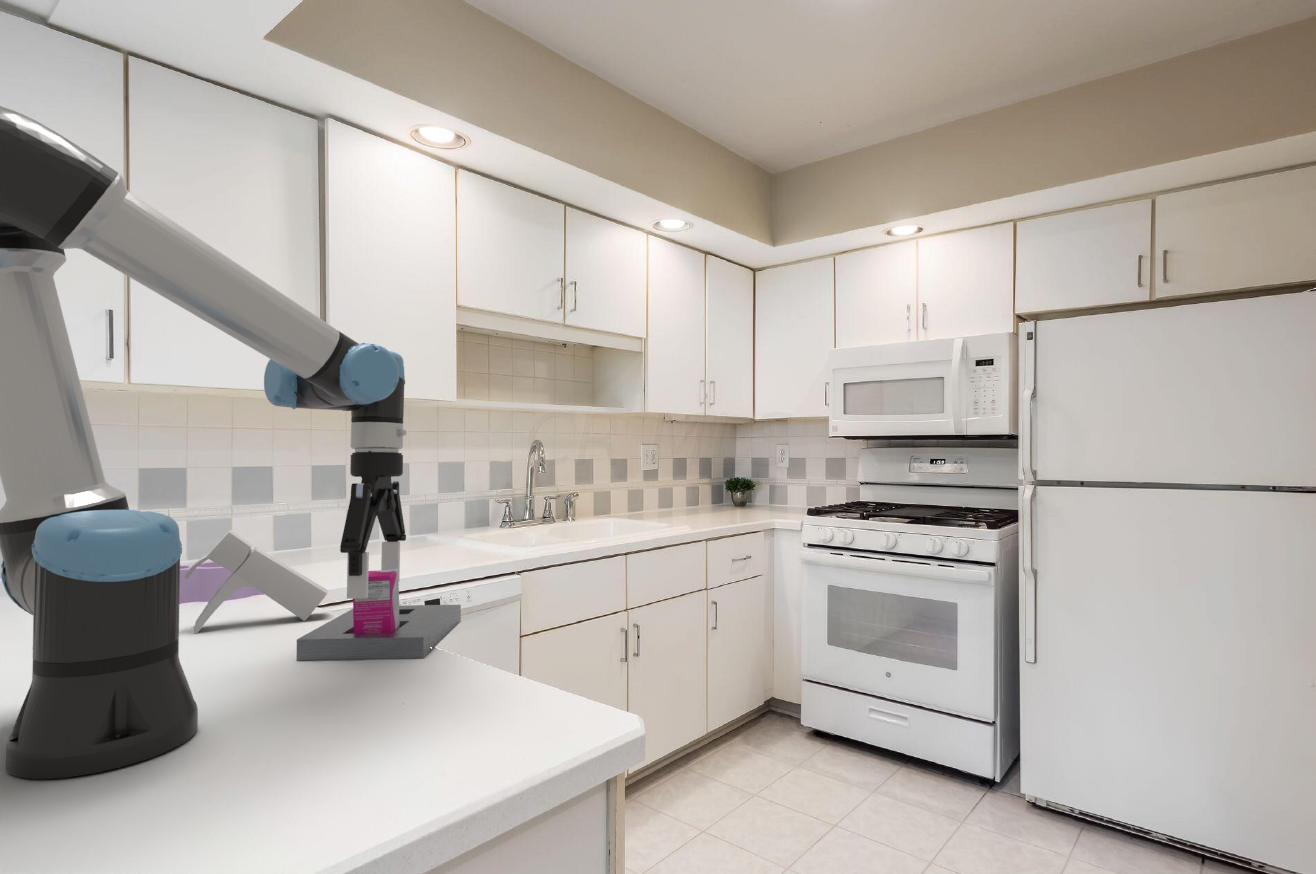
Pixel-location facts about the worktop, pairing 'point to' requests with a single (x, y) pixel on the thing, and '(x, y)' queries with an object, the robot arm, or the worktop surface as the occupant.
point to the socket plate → (381, 636)
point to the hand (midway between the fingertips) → (374, 589)
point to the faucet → (258, 578)
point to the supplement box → (378, 604)
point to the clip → (208, 583)
